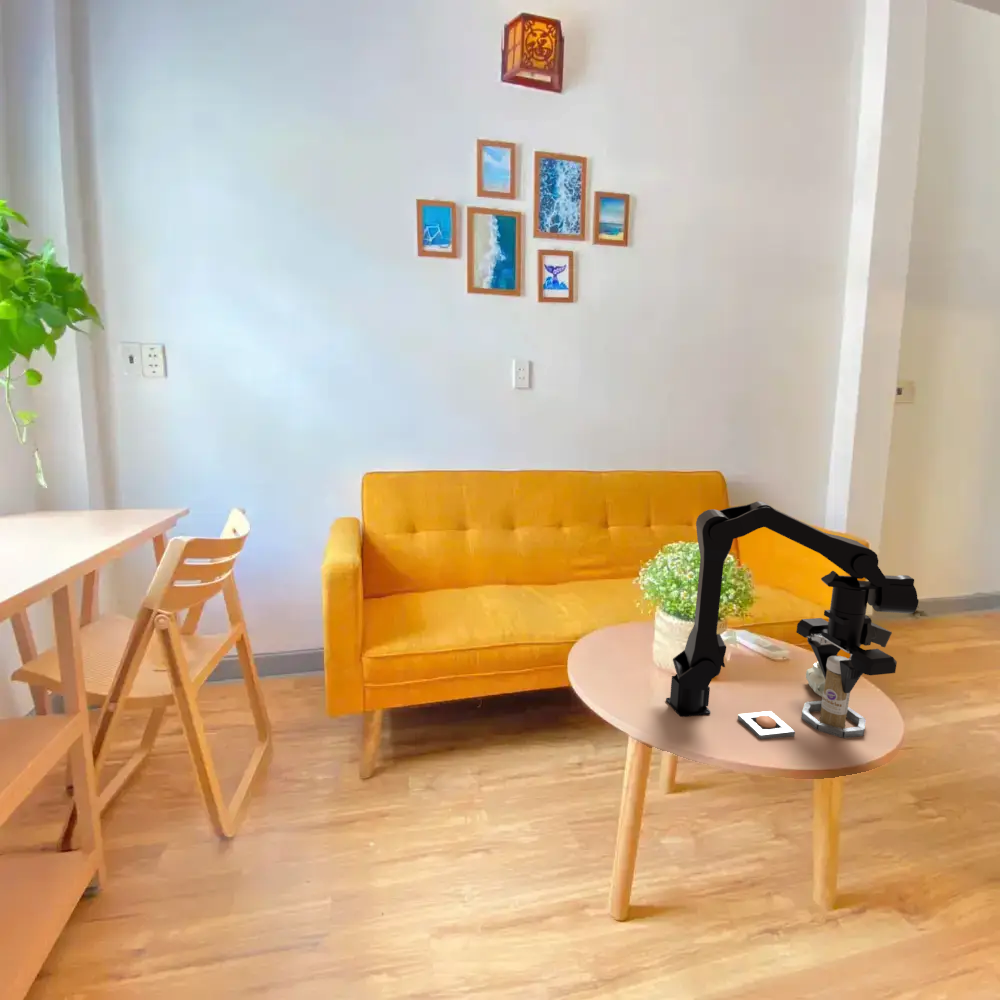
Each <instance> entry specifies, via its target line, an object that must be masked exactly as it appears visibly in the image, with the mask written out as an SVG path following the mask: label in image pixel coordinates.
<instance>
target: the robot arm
mask: <svg viewBox="0 0 1000 1000" xmlns="http://www.w3.org/2000/svg"><path fill="white" fill-rule="evenodd" d="M695 524H696V525H695V527H696V536H697V545H698V550H699V556H700V558H699V559H700V560H699V568H698V569H699V571H698V582H697V591H696V604H695V614H694V623H693V627H692V629H691V631H690V633H689V634H688V637H687V640H686V644H685V647H684V648H685V649H683V650H682V651H681V652H679V654H677V655H676V656H675V657H673V658H672V662H673V665H674V669H675V672H676V673H675V675H672V676H671V683H670V695H669V697H666V698H665V701H666V703H667V704H668V705H669V707H671V709H673V711H674V712H676V714H677V715H678V716H679V717H682V718H684V717H696V716H705V715H711V710H710V709H709V708H708V706H709V703H710V702H709V701H710V692H711V691H710V690H711V688H710V686H709V685H710V684H711V682H712V680H713V679H714V678H716V677H717V676H719V675H720V673H721V670H722V668H726V664H725V655H726V652H727V645H726V644H725V642H724V639H723V638H722V636H721V634H720V633H718V632H717V631H718V622H719V612H720V603H721V596H722V595H721V592H722V583H723V582H722V581H723V575H724V565H725V561H726V559H727V557H728V555H729V554H730V551H731V549H732V545H733V542H734V540H735V539H738V538H741V537H744V536H747V535H749V534H750V533H752V532H754V531H756V530H758V529H761V528H766V529H769V530H770V531H773V532H774V533H777V534H778V535H780V536H783V537H785V538H786V539H789V540H791V541H793V542H795V543H797V544H799V545H802V546H803V547H805V548H807V549H810V550H811V551H814V552H815V553H818V554H820V555H821V556H823V557H824V558H825V559H827V560H828V561H830V562H831V563H832V564H833V565H835V566H836V567H838V568H839V569H840V570H842V571H844V573H846V574H848V575H839V574H838V573H837V572H836V571H835V570H831V571H830V573H828V574H825V575H824V576H822V577H821V578H820V579H821V581H822V582H823V583H824V584H825V585H827V586H828V587H829V588H832V591H831V600H830V608H829V609H824V611H823V616H824V617H826V618H828V621H827V620H825V619H823V618H822V617H815V618H802V619H801V620H799V621H798V623H797V624H796V631H795V633H797V634H798V635H799V636H802V637H803V638H806V639H808V637H809V636H811V634H813V635H812V640H809V641H807V643H808V645H810V647H811V649H812V652H813V653H814V656H815V657H816V660H817V662H818V663H819V665H820V667H821V670H822V673H823V675H824V678H825V679H826V672H827V667H826V664H827V659H828V657H830V656H838V653H839V652H840V651H841V650H842V651H844V652H845V653H847V654H849V657H848V659H849V660H843V661H840V670H841V680H842V687H843V692H844V693H850V694H851V692H852V690H853V689H854V687H855V685H856V684H857V683H858V681H859V679H861V676H862V675H863V674H864V675H866V676H876V675H877V676H878V675H889V674H896V670H897V662H898V661H897V660H896V659H895V658H894V657H893V656H891V655H890V654H888V653H886V652H884V651H883V650H881V649H879V648H872V649H864V648H861V646H871V644H876V645H879V646H880V647H882V648H886V647H887V644H888V642H889V639H890V638H891V636H892V634H893V633H892V631H891V630H889V629H886V628H884V627H882V626H881V625H878V624H876V623H874V622H872V617H870V616H868V615H867V607H868V605H869V606H872V609H873V610H874V611H875V612H879V613H880V612H881V613H895V614H908V615H909V614H914V613H915V612H916V611H917V609H918V606H919V599H918V593H917V589H916V587H915V579H914V578H913V577H911V576H910V575H905V574H904V575H903V574H901V575H887V574H883V573H884V572H882V570H881V568H880V567H879V558H878V557H879V556H878V554H877V553H876V552H875V551H874V550H873V549H871V548H869V547H868V546H866V545H864V544H862V543H861V542H859V541H858V540H855V539H852V538H848V537H845V536H842V535H835V534H832V533H827V532H824V531H822V530H820V529H818V528H816V527H814V526H812V525H810V524H807V523H805V522H803V521H801V520H799V519H797V518H795V517H792V516H791V515H789V514H786V512H783V511H780V510H778V509H776V508H774V507H772V506H771V505H769V504H768V503H766V502H764V501H762V500H760V501H759V500H758V501H755V502H751V503H749V504H743V505H738V506H732V507H727V508H723V509H720V510H718V509H707V510H705V511H703V512H702V513H700V514H699V515H698V516H697V518H696V523H695ZM859 579H860V580H859ZM862 579H865V580H862Z"/></svg>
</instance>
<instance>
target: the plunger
mask: <svg viewBox="0 0 1000 1000" xmlns="http://www.w3.org/2000/svg"><path fill="white" fill-rule="evenodd" d="M755 723H756V724H757V725H758V726H759V727H760V728H762V729H763V730H765V729H774V728H775V727H776V721H775V720H774V719H773V718H771V717H768V716H758V717H757V718H756V722H755Z"/></svg>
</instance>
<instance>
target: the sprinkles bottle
mask: <svg viewBox="0 0 1000 1000" xmlns="http://www.w3.org/2000/svg"><path fill="white" fill-rule="evenodd" d="M843 660H849V657H848V658H847V657H846V656H841V655H837V656H830V657H828V659H827V664H826V667H827V672H826V679H825V685H824V691H823V697H821V701H822V704H821V706H822V708H821V711H820V715H819V718H818V721H820V722H821V723H824V724H828V725H831V726H835V727H838V728H842V729H843V728H846V726H847V724H846V719H847V718H846V715H847V711H848V707H849V701H850V696H851V692H850V693H844V692H843V687H842V680H841V670H840V661H843Z"/></svg>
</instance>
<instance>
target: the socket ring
mask: <svg viewBox="0 0 1000 1000" xmlns="http://www.w3.org/2000/svg"><path fill="white" fill-rule="evenodd" d="M821 704H822V700H814V701H805V702H804V705H803V708H802V712H801V717H800V718H801V720H803V722H805V723H807V724H808V725H809V726H811V727H812V728H813V729H814V730H816V731H818V732H821V733H825V734H828V735H831V736H835V737H838V738H843V739H850V738H851V739H852V738H861V737H860V736H862V737H864V734H865V728H866V727H865V726H866V717H864V716H863V715H862V714H860V713H858V712H857V711H855V710H854V709H853V708H851V707H849V706H848V711H847V715H846V719H848V720H849V721H851V722H852V723H854V724H856V725H857V726H854V727H852V726H851V727H845V728H838V727H835V726H831V725H828V724H824V723H821V722H820V720H819V719H817V718H816V717H815V716H813V715H812V714H811V713H813V712H821V708H822V706H821Z"/></svg>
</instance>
